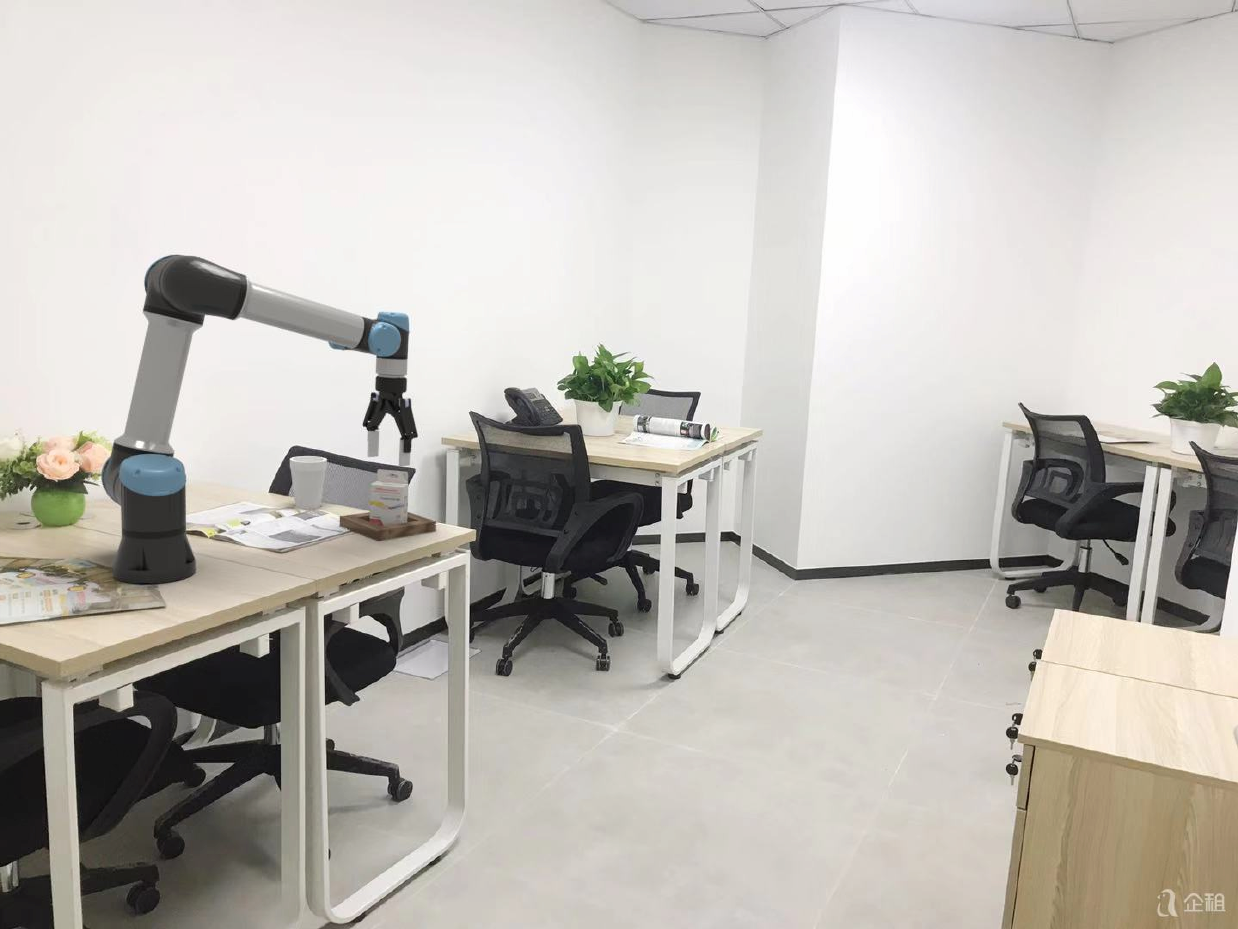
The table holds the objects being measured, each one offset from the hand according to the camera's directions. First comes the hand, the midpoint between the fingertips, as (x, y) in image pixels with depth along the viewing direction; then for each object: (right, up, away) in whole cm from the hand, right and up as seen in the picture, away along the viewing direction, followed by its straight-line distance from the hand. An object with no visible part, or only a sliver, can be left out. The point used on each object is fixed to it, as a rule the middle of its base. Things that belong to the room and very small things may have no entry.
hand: (388, 461), depth 233 cm
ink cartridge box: (-1, -17, +3) cm, 18 cm away
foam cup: (-27, -12, +20) cm, 36 cm away
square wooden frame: (-1, -17, +3) cm, 17 cm away
